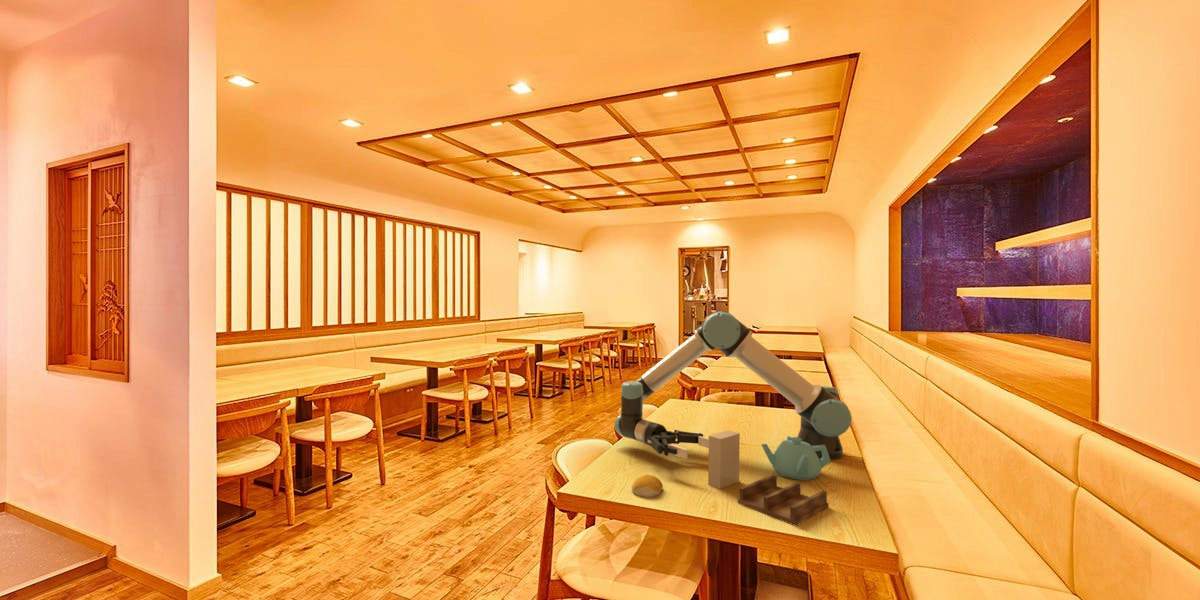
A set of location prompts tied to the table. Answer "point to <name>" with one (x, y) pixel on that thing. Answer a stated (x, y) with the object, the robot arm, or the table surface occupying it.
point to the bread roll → (647, 486)
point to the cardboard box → (723, 459)
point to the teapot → (797, 459)
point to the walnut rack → (782, 500)
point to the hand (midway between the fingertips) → (701, 449)
